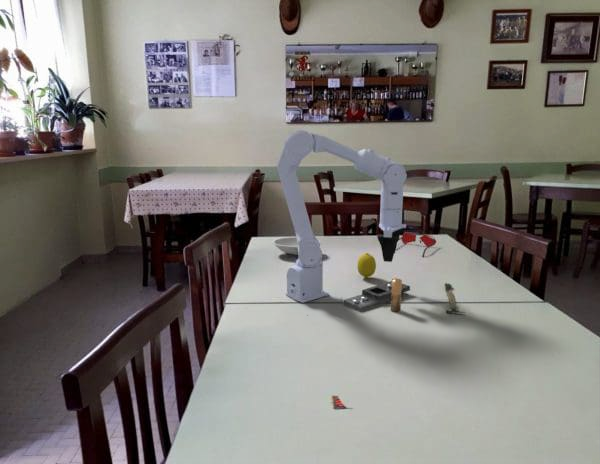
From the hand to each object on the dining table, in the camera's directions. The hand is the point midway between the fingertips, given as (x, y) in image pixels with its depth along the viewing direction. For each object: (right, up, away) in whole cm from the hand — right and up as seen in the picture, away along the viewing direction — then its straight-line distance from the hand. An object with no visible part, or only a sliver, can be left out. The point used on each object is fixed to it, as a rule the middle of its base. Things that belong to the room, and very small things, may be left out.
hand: (389, 257), depth 122 cm
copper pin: (0, -13, -9) cm, 16 cm away
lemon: (-4, -7, +15) cm, 17 cm away
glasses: (+18, 0, +47) cm, 50 cm away
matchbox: (-17, -22, -46) cm, 54 cm away
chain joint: (-4, -11, -2) cm, 12 cm away
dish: (-26, -2, +41) cm, 48 cm away
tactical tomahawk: (+17, -12, -3) cm, 21 cm away
